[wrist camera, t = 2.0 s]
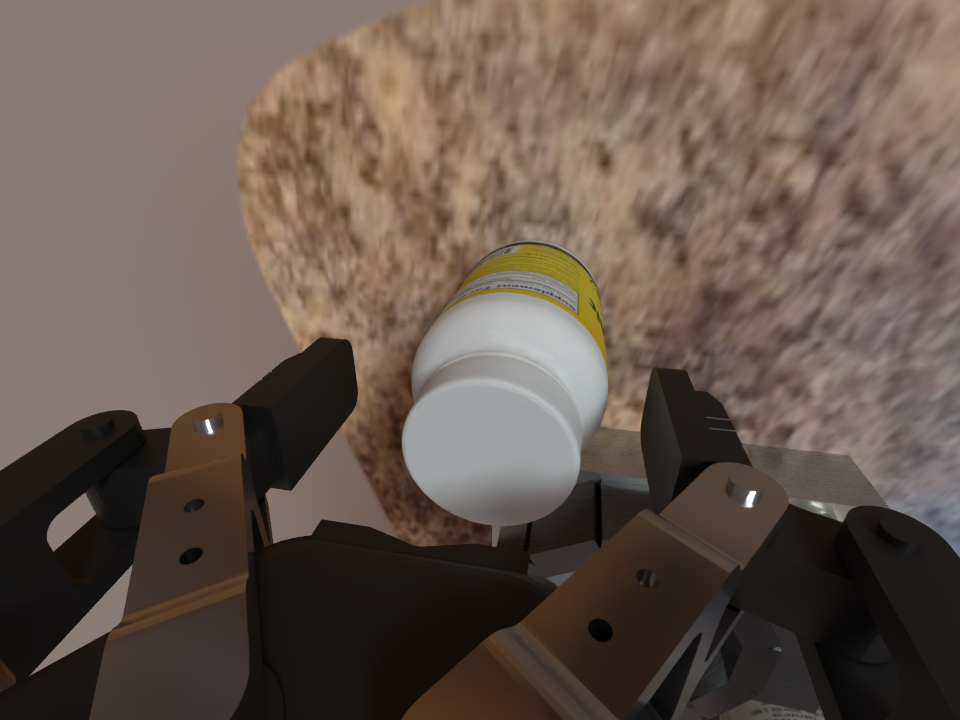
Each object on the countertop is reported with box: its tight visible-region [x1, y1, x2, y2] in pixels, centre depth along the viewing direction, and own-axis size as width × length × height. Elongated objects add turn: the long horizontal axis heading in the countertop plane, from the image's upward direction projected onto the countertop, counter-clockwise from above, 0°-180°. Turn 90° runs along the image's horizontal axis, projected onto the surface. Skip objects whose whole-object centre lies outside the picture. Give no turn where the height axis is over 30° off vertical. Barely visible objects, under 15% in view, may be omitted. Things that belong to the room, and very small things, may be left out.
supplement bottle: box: [402, 240, 608, 526], centre depth 14 cm, size 5×5×10 cm
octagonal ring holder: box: [492, 428, 890, 720], centre depth 20 cm, size 14×11×6 cm
